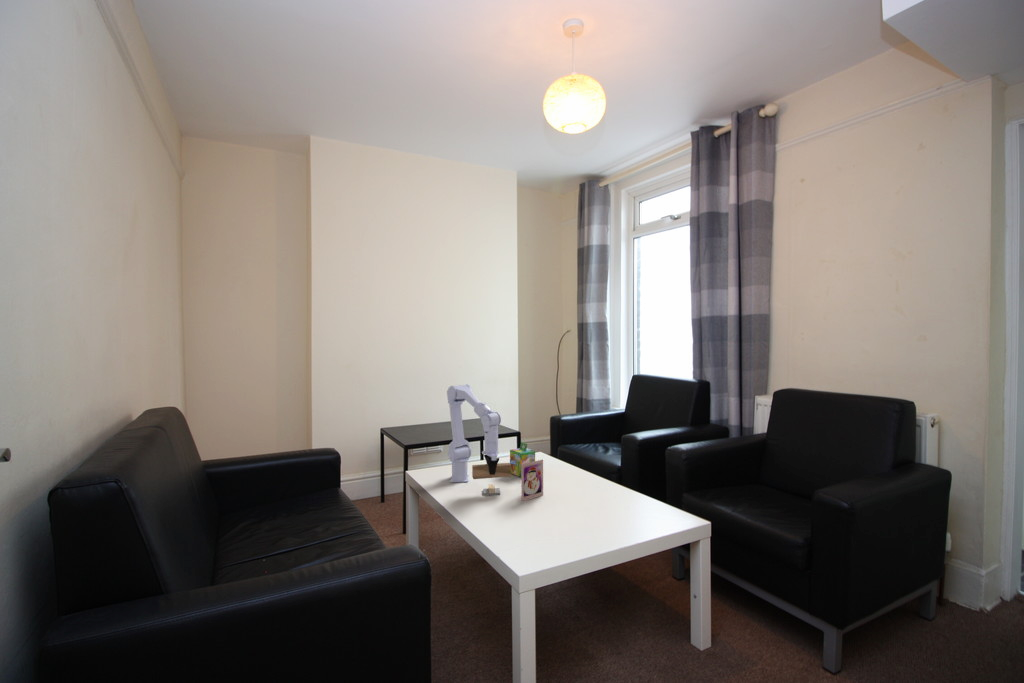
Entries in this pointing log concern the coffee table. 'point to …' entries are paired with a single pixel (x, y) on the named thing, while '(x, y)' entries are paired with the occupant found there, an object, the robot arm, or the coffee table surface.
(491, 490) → the fulcrum
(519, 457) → the chalk box
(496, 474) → the batten
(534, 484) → the greeting card
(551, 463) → the coffee table surface
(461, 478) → the robot arm
